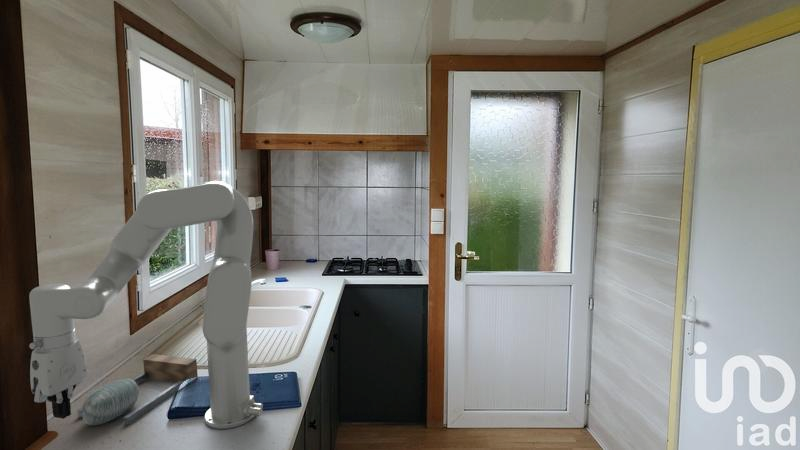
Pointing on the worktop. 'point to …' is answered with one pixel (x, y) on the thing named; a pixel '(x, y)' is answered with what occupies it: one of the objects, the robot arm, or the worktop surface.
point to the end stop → (170, 368)
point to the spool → (110, 401)
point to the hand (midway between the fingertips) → (62, 415)
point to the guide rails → (151, 403)
